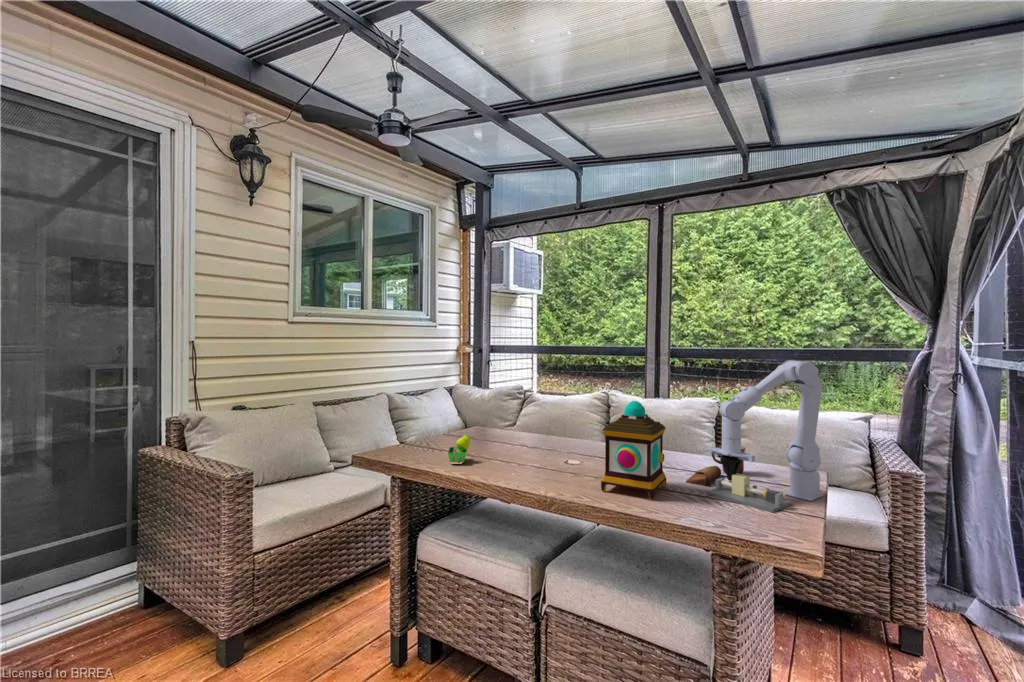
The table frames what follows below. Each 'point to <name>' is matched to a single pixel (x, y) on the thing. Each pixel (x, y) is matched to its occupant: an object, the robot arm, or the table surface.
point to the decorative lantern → (634, 451)
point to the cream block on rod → (740, 484)
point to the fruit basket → (459, 450)
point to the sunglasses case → (705, 476)
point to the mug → (741, 466)
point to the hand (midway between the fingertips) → (731, 479)
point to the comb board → (751, 496)
